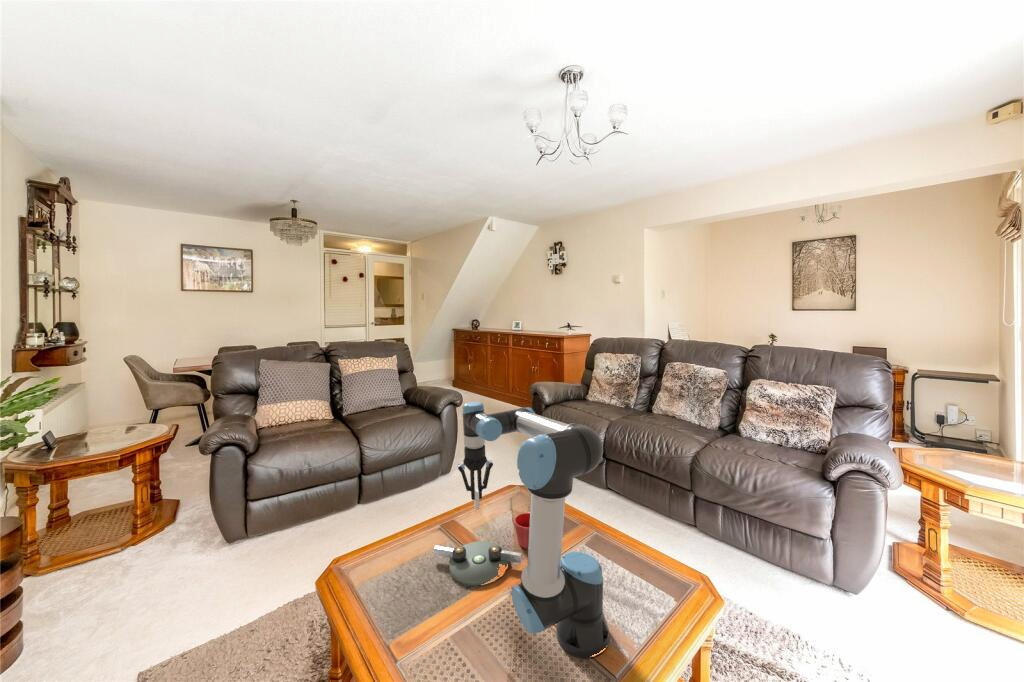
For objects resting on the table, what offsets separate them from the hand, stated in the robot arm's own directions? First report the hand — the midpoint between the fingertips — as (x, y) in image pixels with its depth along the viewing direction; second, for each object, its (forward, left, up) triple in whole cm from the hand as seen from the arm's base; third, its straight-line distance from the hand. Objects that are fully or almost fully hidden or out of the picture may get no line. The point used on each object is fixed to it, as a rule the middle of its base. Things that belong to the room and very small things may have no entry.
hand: (477, 507), depth 142 cm
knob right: (-3, -9, -20) cm, 22 cm away
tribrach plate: (0, 0, -22) cm, 22 cm away
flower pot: (+8, -21, -23) cm, 32 cm away
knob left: (+4, +10, -20) cm, 23 cm away
